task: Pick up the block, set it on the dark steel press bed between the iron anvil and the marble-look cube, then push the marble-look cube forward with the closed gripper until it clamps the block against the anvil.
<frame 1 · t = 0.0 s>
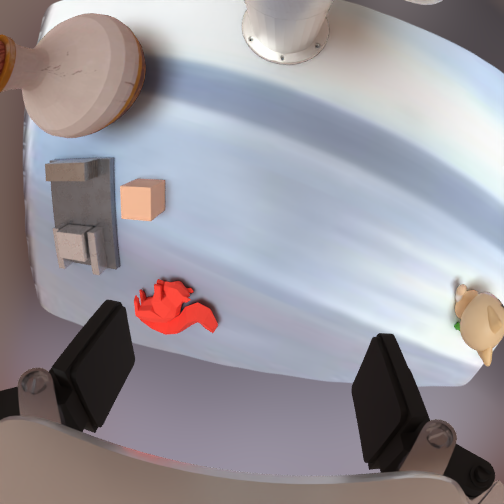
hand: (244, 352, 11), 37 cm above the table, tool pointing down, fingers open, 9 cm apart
jug: (113, 81, 39), on the table
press: (84, 212, 49), on the table
block: (151, 194, 47), on the table
kitten: (464, 301, 50), on the table
animal figurine: (181, 301, 55), on the table
marble-look cube: (76, 242, 47), point 4 cm above the table, slide at 0.0 cm
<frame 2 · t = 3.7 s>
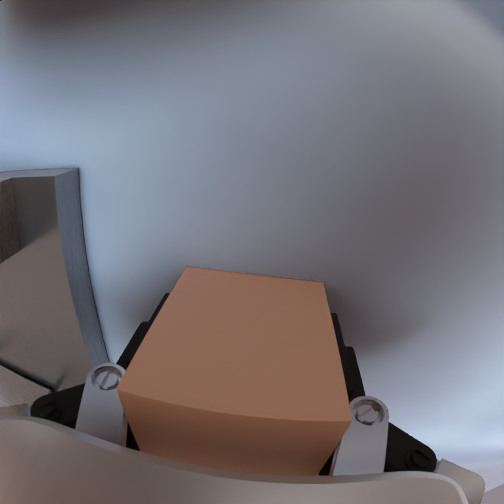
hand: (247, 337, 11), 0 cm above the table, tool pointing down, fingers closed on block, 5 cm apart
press: (21, 334, 14), on the table
block: (248, 329, 12), on the table, touching gripper
marble-look cube: (18, 418, 12), point 4 cm above the table, slide at 0.0 cm
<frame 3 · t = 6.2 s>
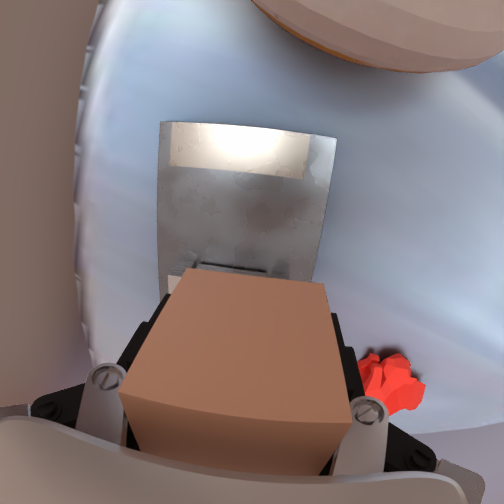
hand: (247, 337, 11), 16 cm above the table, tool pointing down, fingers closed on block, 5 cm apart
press: (237, 239, 27), on the table
block: (249, 330, 12), point 15 cm above the table, touching gripper
animal figurine: (377, 375, 33), on the table
marble-look cube: (226, 304, 25), point 4 cm above the table, slide at 0.0 cm
when the fingers open (3 cm above the table, at t = 9.1 s): block drops 1 cm, resting on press.
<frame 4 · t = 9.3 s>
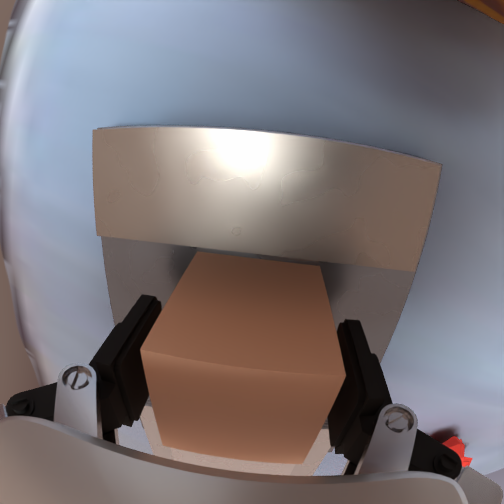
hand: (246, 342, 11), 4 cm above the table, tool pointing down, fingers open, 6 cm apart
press: (249, 332, 15), on the table
block: (252, 310, 13), point 1 cm above the table, touching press
animal figurine: (420, 453, 22), on the table
marble-look cube: (236, 436, 14), point 4 cm above the table, slide at 0.0 cm
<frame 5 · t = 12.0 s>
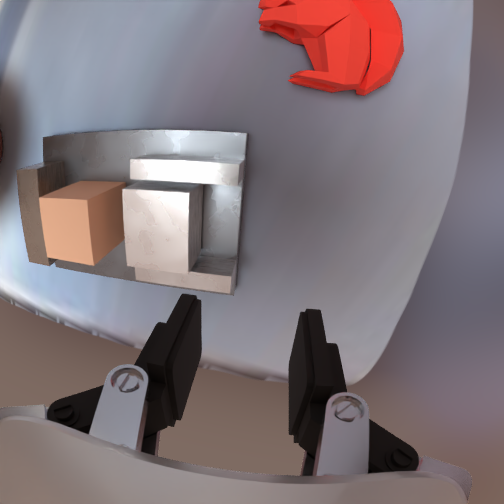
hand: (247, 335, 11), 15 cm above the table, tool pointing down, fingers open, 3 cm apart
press: (133, 206, 26), on the table
block: (103, 208, 25), point 1 cm above the table, touching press
animal figurine: (330, 13, 18), on the table
marble-look cube: (164, 223, 22), point 4 cm above the table, slide at 0.0 cm
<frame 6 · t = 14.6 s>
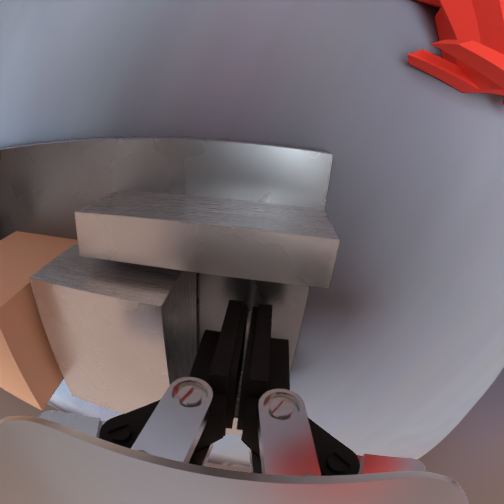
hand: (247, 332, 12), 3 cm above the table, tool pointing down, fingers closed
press: (105, 275, 14), on the table
block: (54, 280, 13), point 1 cm above the table, touching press
marble-look cube: (124, 330, 11), point 4 cm above the table, slide at 1.5 cm, touching gripper
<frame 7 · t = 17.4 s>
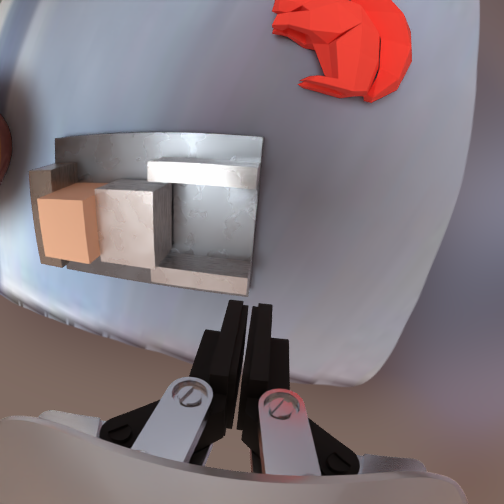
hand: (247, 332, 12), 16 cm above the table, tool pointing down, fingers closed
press: (147, 208, 26), on the table
block: (99, 209, 25), point 1 cm above the table, touching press, marble-look cube
animal figurine: (341, 20, 19), on the table
marble-look cube: (135, 221, 23), point 4 cm above the table, slide at 4.0 cm, touching block
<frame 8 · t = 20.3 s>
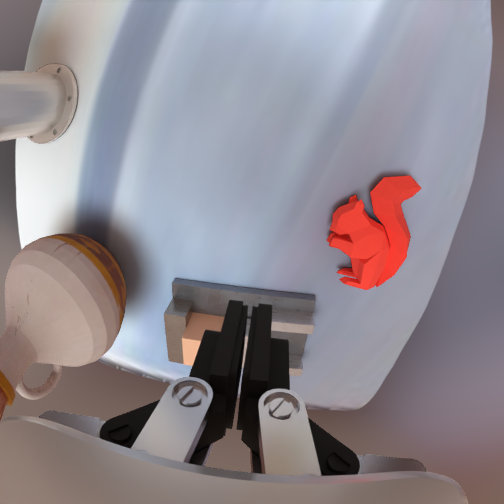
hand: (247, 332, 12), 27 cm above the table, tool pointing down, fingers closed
jug: (99, 271, 44), on the table
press: (240, 326, 45), on the table
block: (209, 328, 44), point 1 cm above the table, touching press, marble-look cube
animal figurine: (369, 220, 37), on the table
marble-look cube: (240, 342, 41), point 4 cm above the table, slide at 4.0 cm, touching block
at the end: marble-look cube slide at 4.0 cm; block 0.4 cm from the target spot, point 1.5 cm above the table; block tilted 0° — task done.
